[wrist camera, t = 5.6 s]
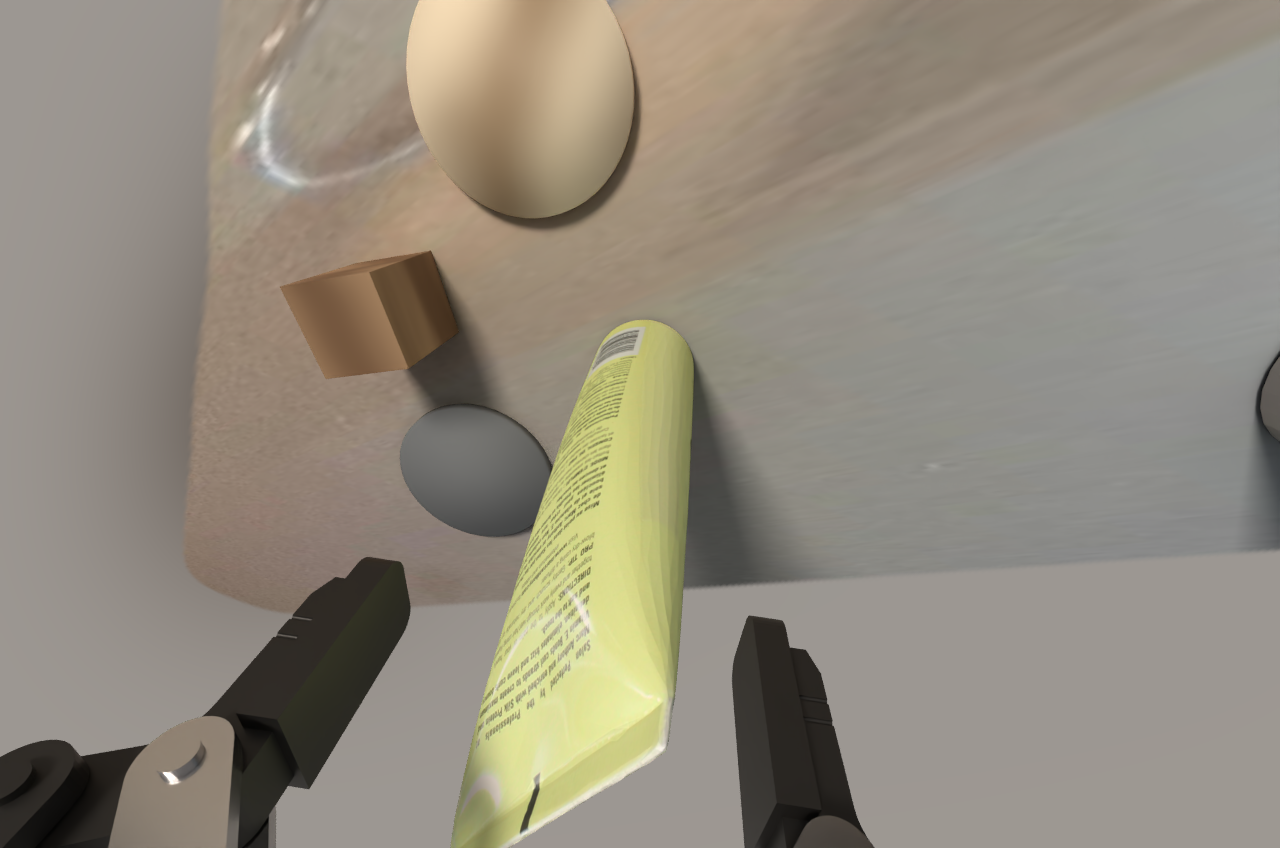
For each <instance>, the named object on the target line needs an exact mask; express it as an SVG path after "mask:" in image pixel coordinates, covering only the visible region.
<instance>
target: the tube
mask: <svg viewBox="0 0 1280 848" xmlns="http://www.w3.org/2000/svg"><path fill="white" fill-rule="evenodd" d="M693 382H694V365H693V357H692V354H691V351H690V349H689V347H688V345H687V343H686V341H685V340H684V339H683V338H682V337H681V335H680V334H678V333H677V332H676V331H675V330H674V329H672V328H671V327H669V326H667V325H665V324H663V323H660V322H657V321H652V320H635V321H631V322H628V323H625V324H623V325H620V326H618V327H617V328H615V329H614V330H612V331H611V332H610V333H609V334H608V335H607V337H606V338H605V339H604V340H603V342H602V344H601V345H600V347H599V349H598V351H597V354H596V356H595V358H594V360H593V363H592V365H591V368H590V370H589V373H588V375H587V378H586V380H585V382H584V385H583V387H582V390H581V392H580V395H579V397H578V400H577V402H576V405H575V407H574V410H573V413H572V415H571V418H570V421H569V424H568V426H567V429H566V432H565V435H564V437H563V440H562V443H561V446H560V449H559V451H558V454H557V457H556V460H555V463H554V466H553V469H552V472H551V475H550V478H549V481H548V484H547V487H546V490H545V493H544V496H543V499H542V502H541V505H540V508H539V511H538V514H537V517H536V521H535V524H534V527H533V530H532V533H531V537H530V540H529V543H528V546H527V550H526V553H525V556H524V559H523V563H522V566H521V569H520V572H519V576H518V579H517V583H516V586H515V590H514V593H513V597H512V600H511V604H510V607H509V610H508V614H507V617H506V620H505V624H504V627H503V630H502V633H501V637H500V640H499V644H498V647H497V650H496V654H495V657H494V661H493V664H492V668H491V671H490V675H489V679H488V682H487V685H486V689H485V693H484V697H483V700H482V704H481V708H480V712H479V716H478V720H477V724H476V727H475V731H474V735H473V739H472V743H471V748H470V752H469V757H468V760H467V765H466V769H465V773H464V777H463V782H462V787H461V791H460V796H459V801H458V805H457V810H456V815H455V820H454V827H453V833H452V840H451V848H510V847H511V846H513V845H514V844H516V843H518V842H519V841H521V840H522V839H523V838H525V837H526V836H528V835H530V834H532V833H533V832H535V831H537V830H538V829H540V828H542V827H543V826H545V825H547V824H548V823H550V822H552V821H553V820H555V819H557V818H558V817H560V816H561V815H562V814H564V813H566V812H568V811H570V810H571V809H573V808H575V807H576V806H578V805H580V804H581V803H583V802H585V801H586V800H588V799H589V798H591V797H592V796H594V795H596V794H598V793H600V792H601V791H603V790H605V789H607V788H608V787H610V786H612V785H613V784H615V783H617V782H619V781H620V780H622V779H624V778H625V777H627V776H629V775H630V774H632V773H633V772H635V771H637V770H638V769H640V768H641V767H643V766H645V765H647V764H649V763H650V762H651V761H653V760H654V759H655V758H657V757H658V756H660V755H661V754H663V753H664V752H666V750H667V746H668V742H669V734H670V726H671V717H672V710H673V705H674V700H675V690H676V681H677V669H678V657H679V643H680V631H681V616H682V615H681V614H682V599H683V582H684V565H685V549H686V534H687V518H688V500H689V480H690V460H691V439H692V412H693Z"/></svg>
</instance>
